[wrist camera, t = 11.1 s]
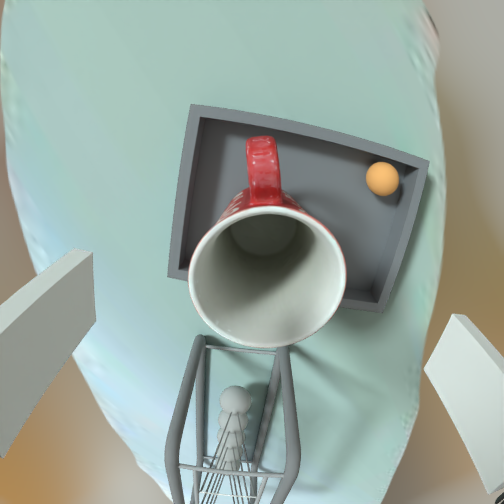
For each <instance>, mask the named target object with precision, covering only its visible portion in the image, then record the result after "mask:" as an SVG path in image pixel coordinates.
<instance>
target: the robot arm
mask: <svg viewBox="0 0 504 504" xmlns="http://www.w3.org/2000/svg"><path fill="white" fill-rule="evenodd" d="M95 322H96V313H95V299H94V279H93V252H89V251H85V250H80V249H76V248H74V249H72V250H71V251H70V252H68V253H67V254H65V255H64V256H63V257H61V258H60V259H59V260H57V261H56V262H55V263H53V264H52V265H51V266H49V267H48V268H47V269H45V270H44V271H43V272H41V273H40V274H39V275H37V276H36V277H35V278H34V279H32V280H31V281H30V282H28V283H27V284H26V285H25V286H23V287H22V288H21V289H20V290H18V291H17V292H16V293H15V294H14V295H12V296H11V297H10V298H9V299H8V300H6V301H5V302H4V303H3V304H2V305H0V457H1V458H4V457H5V455H6V453H7V451H8V450H9V448H10V446H11V444H12V443H13V441H14V439H15V438H16V436H17V435H18V433H19V431H20V430H21V428H22V427H23V425H24V423H25V422H26V420H27V419H28V417H29V415H30V414H31V412H32V411H33V409H34V408H35V406H36V405H37V403H38V402H39V400H40V399H41V397H42V396H43V394H44V393H45V391H46V390H47V388H48V387H49V385H50V384H51V382H52V381H53V379H54V378H55V376H56V375H57V373H58V372H59V371H60V369H61V368H62V367H63V365H64V364H65V362H66V361H67V359H68V358H69V357H70V355H71V354H72V353H73V351H74V350H75V349H76V347H77V346H78V344H79V343H80V342H81V340H82V339H83V338H84V336H85V335H86V334H87V332H88V331H89V330H90V328H91V327H92V326H93V324H94V323H95ZM424 371H425V372H426V374H427V376H428V378H429V379H430V381H431V383H432V384H433V386H434V388H435V390H436V391H437V393H438V395H439V397H440V399H441V400H442V402H443V404H444V406H445V408H446V410H447V411H448V413H449V415H450V417H451V419H452V420H453V422H454V424H455V426H456V428H457V430H458V432H459V434H460V436H461V438H462V440H463V442H464V444H465V446H466V448H467V450H468V452H469V454H470V456H471V458H472V460H473V462H474V464H475V466H476V468H477V470H478V473H479V475H480V477H481V479H482V482H483V484H484V486H485V488H486V491H487V493H488V495H489V494H491V493H493V492H495V491H498V490H500V489H502V488H503V487H504V358H503V356H502V355H501V354H500V353H499V352H498V351H497V350H496V348H494V346H493V345H492V344H491V343H490V341H489V340H488V339H487V338H486V337H485V336H484V335H483V334H482V333H481V332H480V330H479V329H478V328H477V327H476V326H475V325H474V324H473V323H472V322H471V321H470V320H469V318H467V316H466V315H460V314H452V316H451V318H450V320H449V322H448V324H447V326H446V328H445V330H444V332H443V334H442V336H441V338H440V340H439V342H438V344H437V346H436V348H435V349H434V351H433V353H432V355H431V357H430V359H429V361H428V362H427V364H426V366H425V367H424ZM503 499H504V493H502V494H501V495H500V496H499V497H498V498H497V500H496V502H495V504H498V503H499V502H500V501H501V500H503ZM501 504H504V501H503V502H502V503H501Z"/></svg>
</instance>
